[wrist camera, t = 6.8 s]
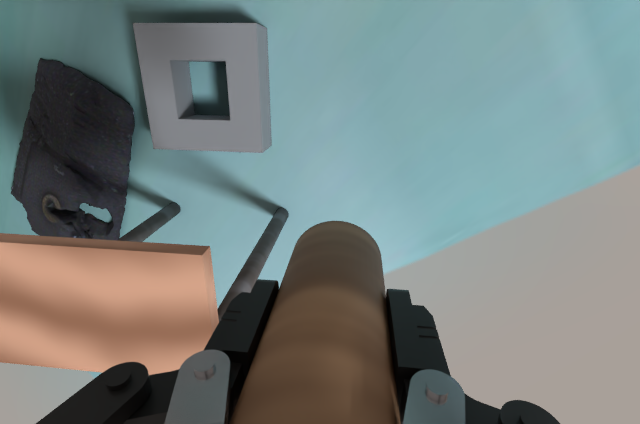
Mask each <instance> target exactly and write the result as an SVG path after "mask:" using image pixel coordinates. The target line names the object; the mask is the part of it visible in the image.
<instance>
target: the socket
mask: <svg viewBox="0 0 640 424" xmlns="http://www.w3.org/2000/svg"><path fill="white" fill-rule="evenodd" d="M133 28H134V34H135V40H136V46H137V52H138V58H139V64H140V70H141V76H142V82H143V88H144V94H145V100H146V106H147V112H148V118H149V124H150V130H151V136H152V142H153V148H154V149H171V150H199V151H227V152H254V153H263V152H264V151H265V150H267V149H268V148H269V147H270V146H272V143H271V118H270V92H269V67H268V41H267V28H265V27H263V26H261V25H259V24H257V23H133ZM189 61H197V62H226V72H227V85H228V97H229V109H230V116H219V115H195V112H194V104H193V95H192V87H191V78H190V70H189Z"/></svg>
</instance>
